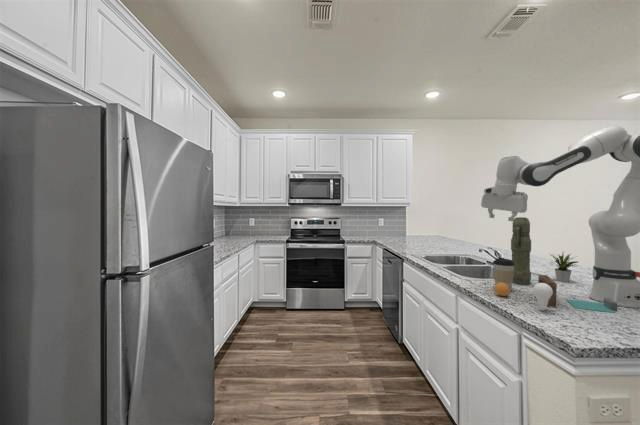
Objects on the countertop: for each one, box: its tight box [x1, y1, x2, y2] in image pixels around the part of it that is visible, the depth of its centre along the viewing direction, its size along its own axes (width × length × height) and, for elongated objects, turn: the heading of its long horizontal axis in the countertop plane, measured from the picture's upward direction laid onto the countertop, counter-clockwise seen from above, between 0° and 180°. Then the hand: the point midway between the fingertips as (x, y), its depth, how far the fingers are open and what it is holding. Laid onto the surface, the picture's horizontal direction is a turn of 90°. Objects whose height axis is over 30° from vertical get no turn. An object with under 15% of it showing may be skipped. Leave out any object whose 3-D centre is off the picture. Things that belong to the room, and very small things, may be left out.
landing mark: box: [565, 298, 617, 314], centre depth 118 cm, size 12×12×1 cm
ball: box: [493, 283, 511, 297], centre depth 131 cm, size 6×6×6 cm
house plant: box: [549, 251, 579, 283], centre depth 156 cm, size 14×14×16 cm
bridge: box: [537, 274, 558, 308], centre depth 124 cm, size 3×15×10 cm, turn 154°
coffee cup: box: [492, 257, 514, 292], centre depth 142 cm, size 9×9×15 cm
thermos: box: [510, 216, 532, 286], centre depth 152 cm, size 9×12×35 cm
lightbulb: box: [532, 283, 553, 312], centre depth 113 cm, size 6×6×11 cm
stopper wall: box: [603, 298, 618, 312], centre depth 115 cm, size 2×6×3 cm, turn 154°
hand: (500, 219), depth 138 cm, fingers open, 8 cm apart
